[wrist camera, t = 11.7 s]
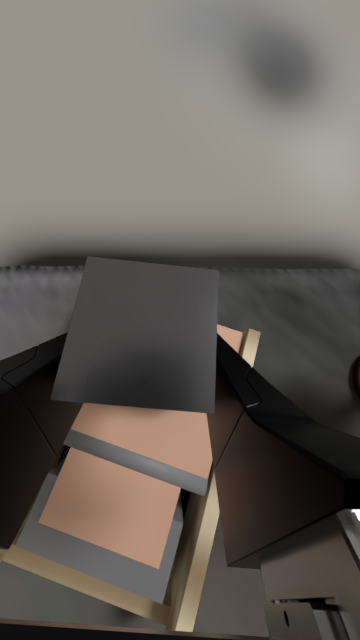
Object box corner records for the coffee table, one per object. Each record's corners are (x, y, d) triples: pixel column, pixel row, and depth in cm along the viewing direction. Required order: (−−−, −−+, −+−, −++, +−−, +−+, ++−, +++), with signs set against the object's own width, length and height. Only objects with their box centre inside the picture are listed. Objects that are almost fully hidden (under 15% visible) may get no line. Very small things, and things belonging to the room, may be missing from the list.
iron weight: (196, 397, 17) (277, 492, 4) (121, 391, 16) (-41, 468, 4) (200, 325, 18) (265, 235, 6) (133, 319, 18) (51, 210, 6)
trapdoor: (174, 559, 16) (175, 619, 13) (36, 506, 17) (-4, 548, 13) (231, 338, 22) (244, 332, 18) (126, 303, 22) (117, 289, 19)
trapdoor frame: (178, 585, 17) (181, 679, 12) (19, 523, 18) (-42, 588, 13) (241, 338, 23) (260, 332, 18) (119, 297, 24) (104, 280, 18)
